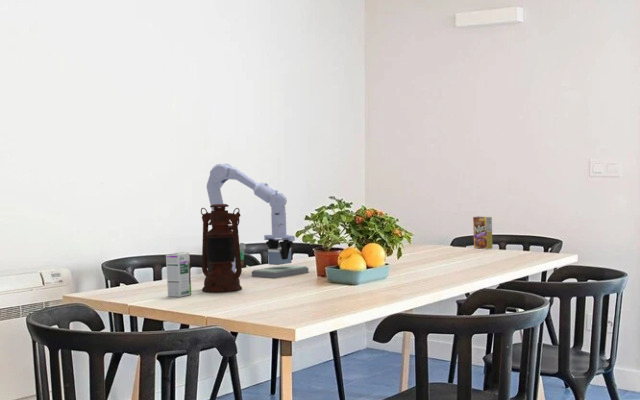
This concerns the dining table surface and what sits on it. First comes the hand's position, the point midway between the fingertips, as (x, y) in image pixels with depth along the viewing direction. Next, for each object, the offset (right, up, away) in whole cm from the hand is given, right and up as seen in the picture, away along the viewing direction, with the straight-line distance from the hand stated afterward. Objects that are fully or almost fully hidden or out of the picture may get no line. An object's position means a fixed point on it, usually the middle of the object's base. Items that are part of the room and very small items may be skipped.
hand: (279, 258), depth 353 cm
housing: (0, -2, 0) cm, 2 cm away
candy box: (+95, 0, +81) cm, 125 cm away
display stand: (0, -6, 0) cm, 6 cm away
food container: (-19, -6, +28) cm, 35 cm away
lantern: (-18, -9, -39) cm, 44 cm away
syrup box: (-32, -9, -50) cm, 60 cm away
